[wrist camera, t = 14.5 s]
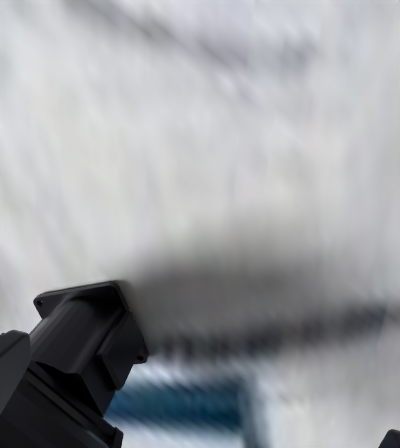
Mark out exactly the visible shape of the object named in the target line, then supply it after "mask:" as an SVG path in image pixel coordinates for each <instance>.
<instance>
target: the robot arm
mask: <svg viewBox="0 0 400 448" xmlns="http://www.w3.org/2000/svg"><path fill="white" fill-rule="evenodd" d="M110 289H112V290H113V291H114V292H112V291H111V290H110ZM41 301H42V302H43V303H42V302H41ZM33 303H34V305H35V307H36V309H37V311H38V312H39V314H40V316H41V318H42V320H41V321H40V322H39V324H38V325H37V326H36V327H35V328H34V329H33V330H32V331H31V332H30V334H28V333H25V332H22V331H18V330H12V331H9V332H7V333H5V334H4V333H2V334H1V335H0V448H121V446H122V440H123V432H122V431H120V430H119V429H118V428H117V427H115V428H114V427H113V426H112V425H110V424H109V423H108V422H107V421H106V420H104V419H103V417H104V415H105V413H106V411H107V409H108V407H109V405H110V402H111V400H112V398H113V396H114V394H115V392H116V391H120V390H121V389H122V388H123V386H124V384H125V381H126V379H127V377H128V375H129V373H130V371H131V368H132V366H133V364H142V363H145V362H146V361H147V359H148V356H149V353H148V351H147V349H146V346H145V344H144V339H143V337H142V335H141V333H140V330H139V328H138V326H137V323H136V321H135V319H134V317H133V314H132V312H131V311H130V310H129V307H128V305H127V303H126V301H125V298H124V296H123V294H122V291H121V289H120V287H119V286H118V285H117V284H116V283H114V282H107V283H102V284H96V285H90V286H84V287H79V288H73V289H67V290H61V291H56V292H50V293H44V294H40V295H38V296H37V297H36V298H35V299H34V301H33ZM140 355H141V356H140ZM378 448H400V431H398V430H394V429H391V430H389V431H388V432H387V434H386V436H385V437H384V439H383V441H382V442H381V444H380V446H379V447H378Z"/></svg>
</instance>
